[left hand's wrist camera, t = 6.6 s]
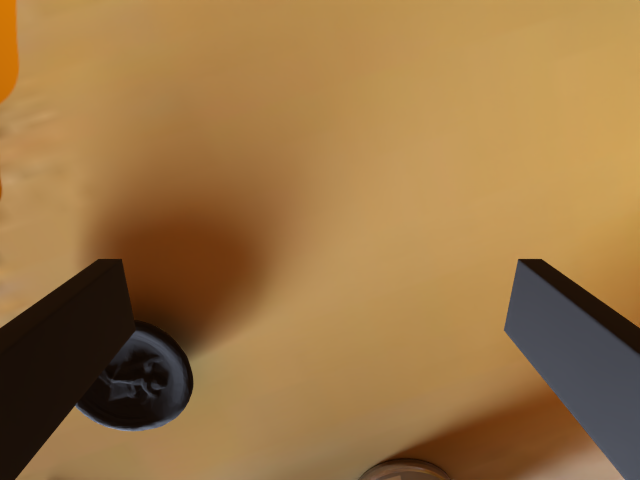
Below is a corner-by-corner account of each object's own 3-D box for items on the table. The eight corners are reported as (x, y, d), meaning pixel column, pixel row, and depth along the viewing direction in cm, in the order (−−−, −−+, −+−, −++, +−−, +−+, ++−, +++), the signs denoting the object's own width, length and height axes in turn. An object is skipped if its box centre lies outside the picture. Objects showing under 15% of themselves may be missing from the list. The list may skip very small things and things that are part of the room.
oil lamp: (55, 271, 42) (22, 292, 38) (218, 329, 45) (206, 355, 40) (35, 368, 47) (4, 397, 42) (183, 415, 50) (169, 448, 45)
